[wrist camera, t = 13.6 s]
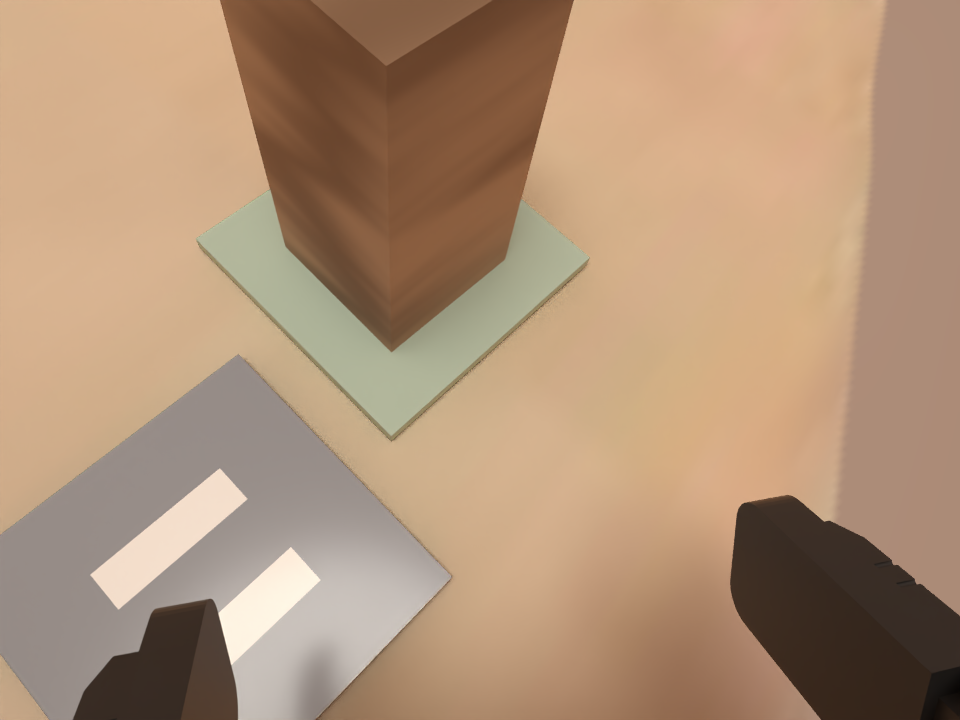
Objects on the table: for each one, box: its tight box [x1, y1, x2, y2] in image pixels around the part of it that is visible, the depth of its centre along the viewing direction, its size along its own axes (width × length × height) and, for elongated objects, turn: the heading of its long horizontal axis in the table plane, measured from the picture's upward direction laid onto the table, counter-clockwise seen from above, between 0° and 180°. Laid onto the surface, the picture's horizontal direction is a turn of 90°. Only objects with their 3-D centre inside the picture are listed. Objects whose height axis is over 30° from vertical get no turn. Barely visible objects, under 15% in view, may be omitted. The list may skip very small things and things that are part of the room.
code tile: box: [0, 354, 452, 720], centre depth 18 cm, size 9×9×1 cm
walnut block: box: [220, 0, 574, 352], centre depth 17 cm, size 5×5×11 cm
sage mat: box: [196, 189, 590, 441], centre depth 23 cm, size 9×9×1 cm
